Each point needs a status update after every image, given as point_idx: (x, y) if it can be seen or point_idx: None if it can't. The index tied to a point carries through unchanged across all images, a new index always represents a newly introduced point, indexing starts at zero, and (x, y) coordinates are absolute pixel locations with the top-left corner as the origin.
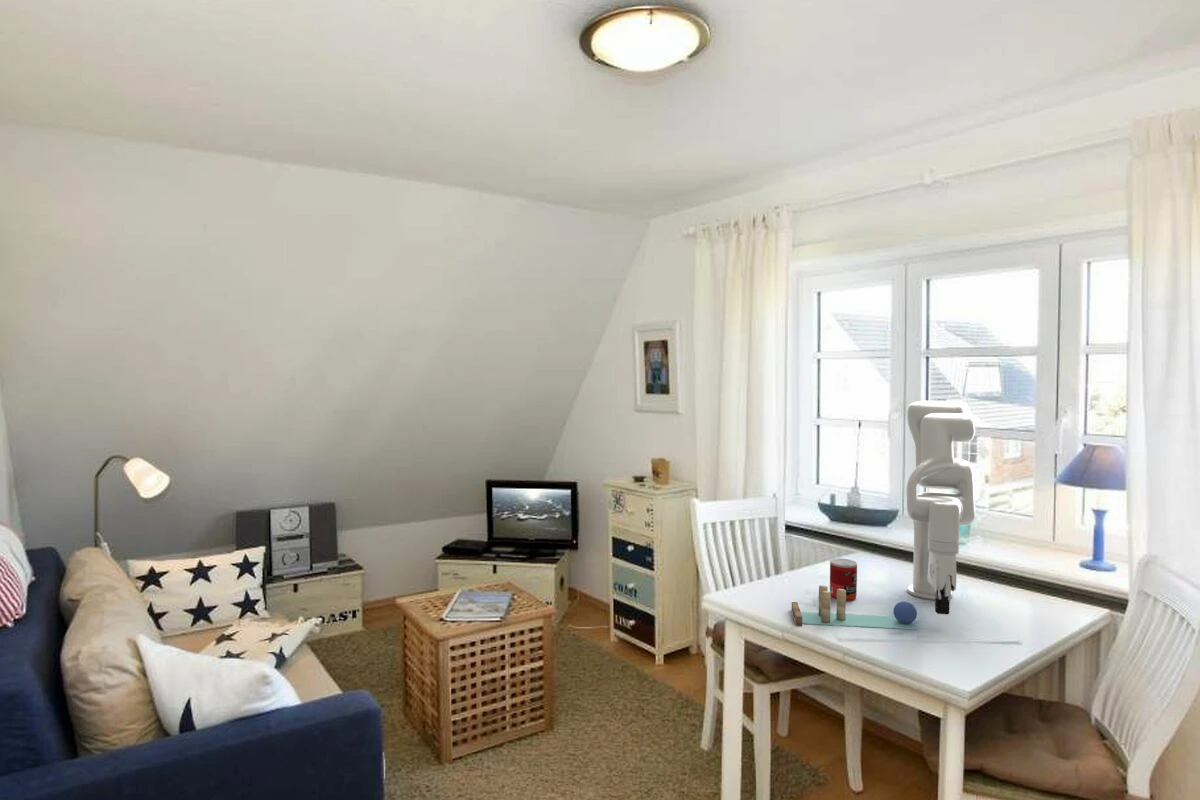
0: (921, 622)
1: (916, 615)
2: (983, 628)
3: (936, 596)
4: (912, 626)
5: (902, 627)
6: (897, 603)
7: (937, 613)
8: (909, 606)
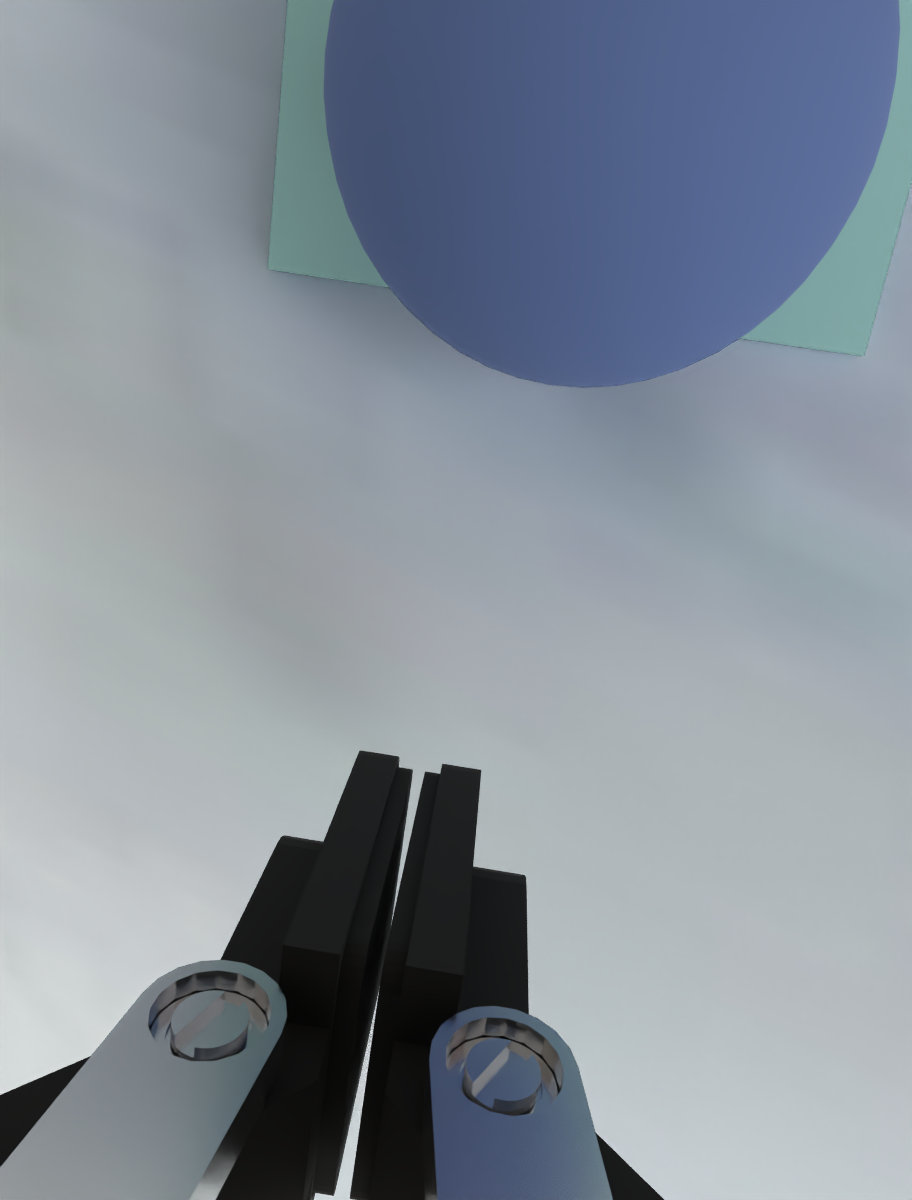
0: (616, 502)
1: (430, 330)
2: None
3: (439, 1026)
4: None
5: (330, 4)
6: None
7: (358, 754)
8: (406, 94)
